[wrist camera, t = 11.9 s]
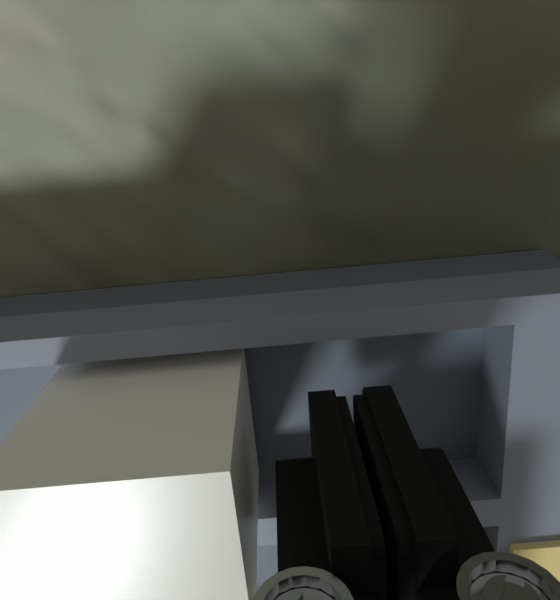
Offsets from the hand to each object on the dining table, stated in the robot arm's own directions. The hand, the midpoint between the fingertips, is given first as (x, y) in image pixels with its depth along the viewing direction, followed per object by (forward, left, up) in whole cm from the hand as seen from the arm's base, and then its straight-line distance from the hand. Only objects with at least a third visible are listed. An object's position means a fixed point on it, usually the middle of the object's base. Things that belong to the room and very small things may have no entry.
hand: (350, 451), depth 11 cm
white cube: (+4, 0, -2) cm, 5 cm away
